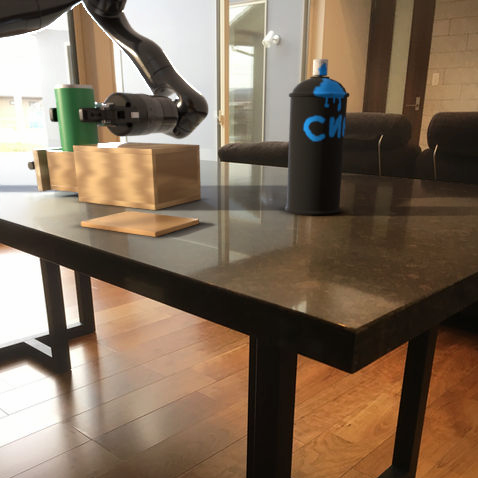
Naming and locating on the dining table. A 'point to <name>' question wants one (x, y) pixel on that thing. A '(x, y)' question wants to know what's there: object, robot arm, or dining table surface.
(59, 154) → the drawer
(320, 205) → the aerosol can
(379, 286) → the dining table surface
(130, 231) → the cork mat
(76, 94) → the green can
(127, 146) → the cabinet
